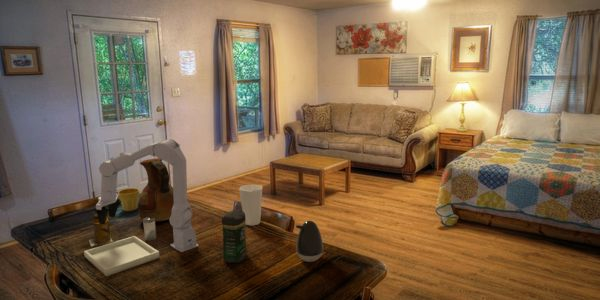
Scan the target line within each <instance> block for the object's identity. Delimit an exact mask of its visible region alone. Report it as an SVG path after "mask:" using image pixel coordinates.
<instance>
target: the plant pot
mask: <svg viewBox="0 0 600 300" xmlns="http://www.w3.org/2000/svg"><path fill="white" fill-rule="evenodd" d="M117 194H120V196H119V199H118V200H121V203H120V204H121V208H122V210H123V211H124V212H131V211H135V210H137V209H138V202H139V198H140V194H141V191H140V189H139V188H137V187H132V188H131V187H129V188H123V189H120V190H119V191H118V192H117Z"/></svg>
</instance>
